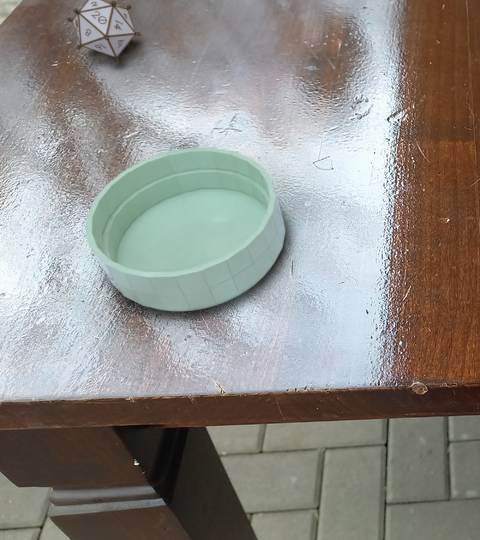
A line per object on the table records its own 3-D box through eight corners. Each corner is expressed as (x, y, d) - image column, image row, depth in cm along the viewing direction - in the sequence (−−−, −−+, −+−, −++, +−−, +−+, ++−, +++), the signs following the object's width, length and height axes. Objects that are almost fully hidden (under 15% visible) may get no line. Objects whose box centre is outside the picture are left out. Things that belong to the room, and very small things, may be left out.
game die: (140, 72, 100) (163, 24, 94) (84, 81, 94) (105, 30, 87) (103, 23, 100) (124, -28, 94) (45, 28, 94) (63, -26, 87)
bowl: (86, 317, 68) (59, 279, 63) (135, 189, 80) (115, 149, 75) (274, 312, 69) (260, 273, 64) (295, 185, 80) (285, 145, 76)
